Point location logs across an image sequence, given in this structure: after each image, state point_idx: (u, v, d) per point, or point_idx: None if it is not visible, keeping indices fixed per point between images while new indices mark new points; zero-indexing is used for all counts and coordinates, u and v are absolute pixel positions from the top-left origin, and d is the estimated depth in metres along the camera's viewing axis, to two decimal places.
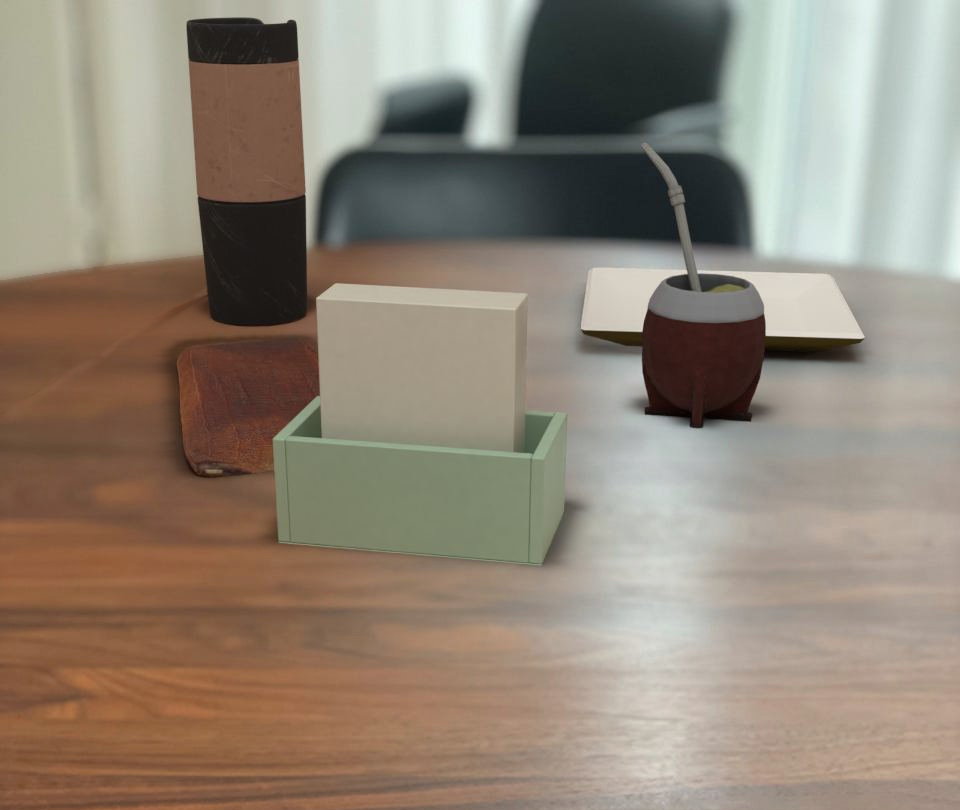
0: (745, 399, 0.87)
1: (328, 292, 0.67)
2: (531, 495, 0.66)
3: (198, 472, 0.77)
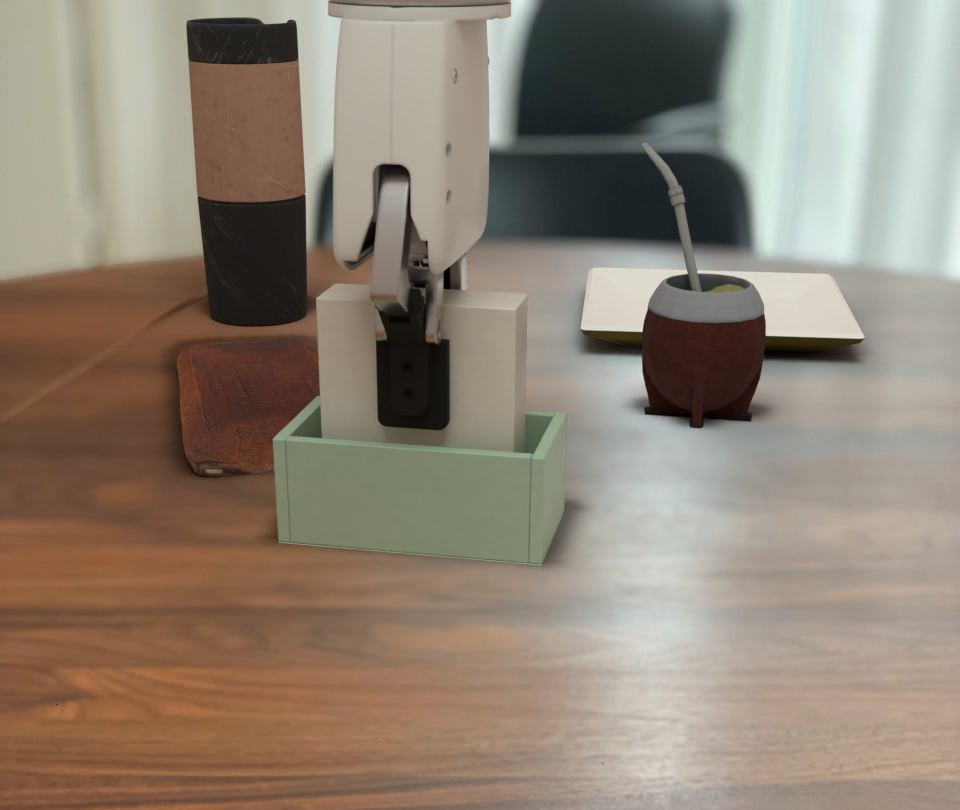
0: (745, 399, 0.87)
1: (328, 292, 0.67)
2: (531, 495, 0.66)
3: (198, 472, 0.77)
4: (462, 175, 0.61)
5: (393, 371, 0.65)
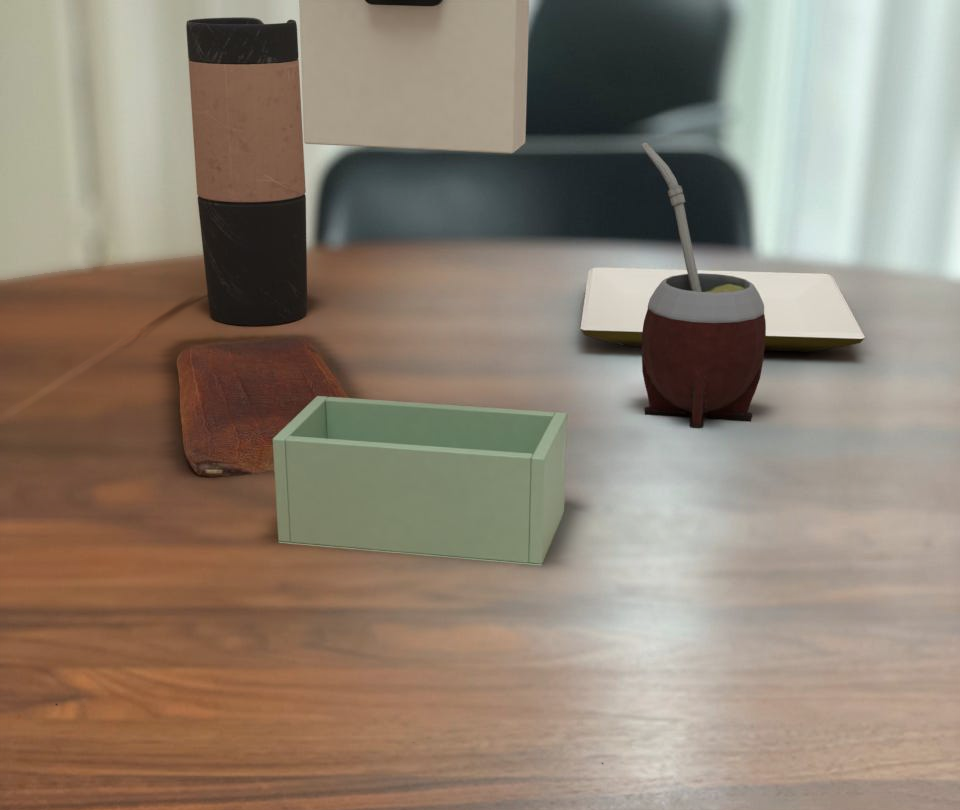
0: (745, 399, 0.87)
1: None
2: (531, 495, 0.66)
3: (198, 472, 0.77)
4: None
5: None
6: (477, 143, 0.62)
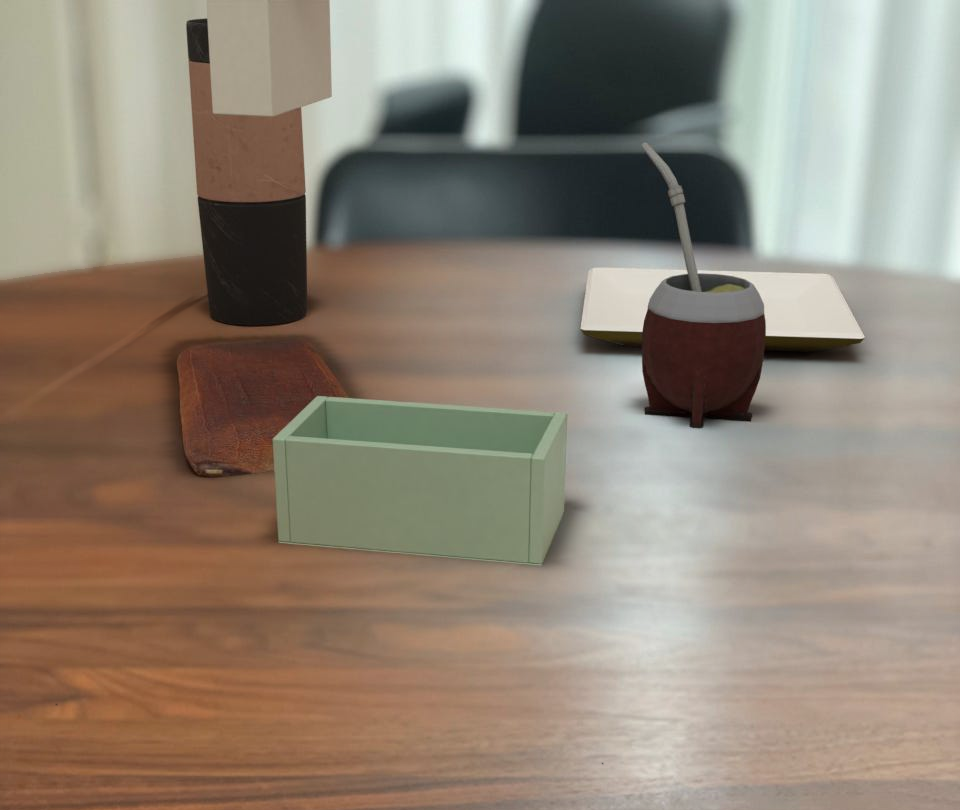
0: (745, 399, 0.87)
1: None
2: (531, 495, 0.66)
3: (198, 472, 0.77)
4: None
5: None
6: None
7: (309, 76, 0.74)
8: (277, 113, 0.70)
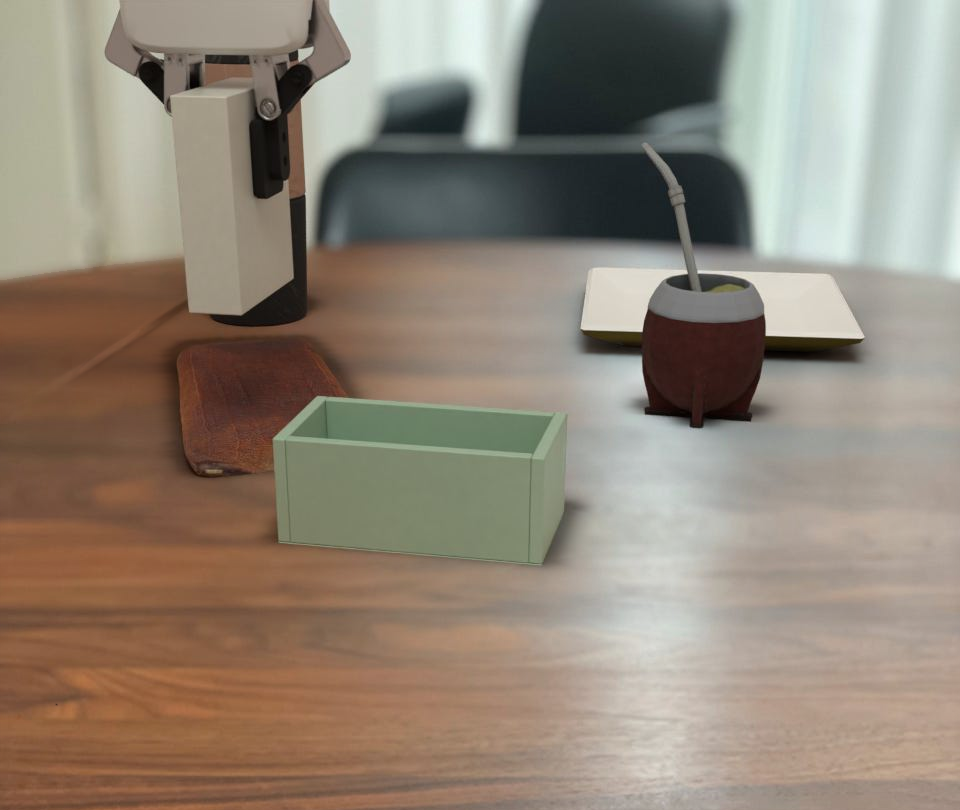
0: (745, 399, 0.87)
1: (248, 78, 0.83)
2: (531, 495, 0.66)
3: (198, 472, 0.77)
4: None
5: None
6: None
7: (273, 268, 0.84)
8: (245, 311, 0.80)
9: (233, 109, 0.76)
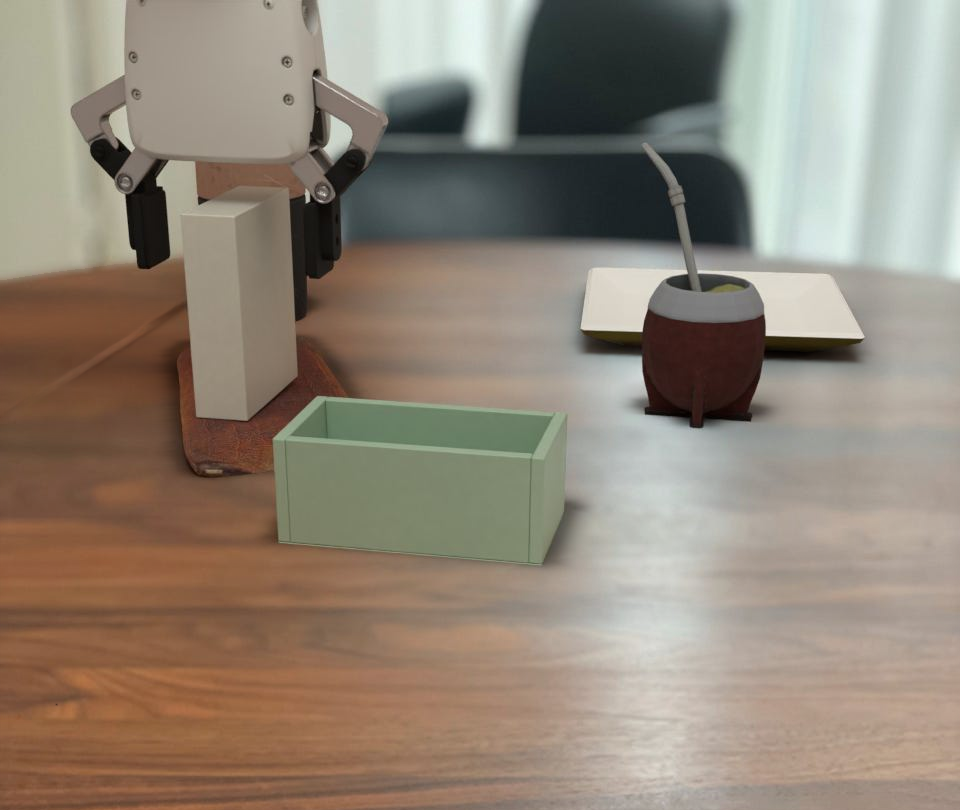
0: (745, 399, 0.87)
1: (255, 187, 0.85)
2: (531, 495, 0.66)
3: (198, 472, 0.77)
4: (163, 83, 0.77)
5: None
6: None
7: (278, 370, 0.86)
8: (251, 416, 0.82)
9: (241, 227, 0.78)
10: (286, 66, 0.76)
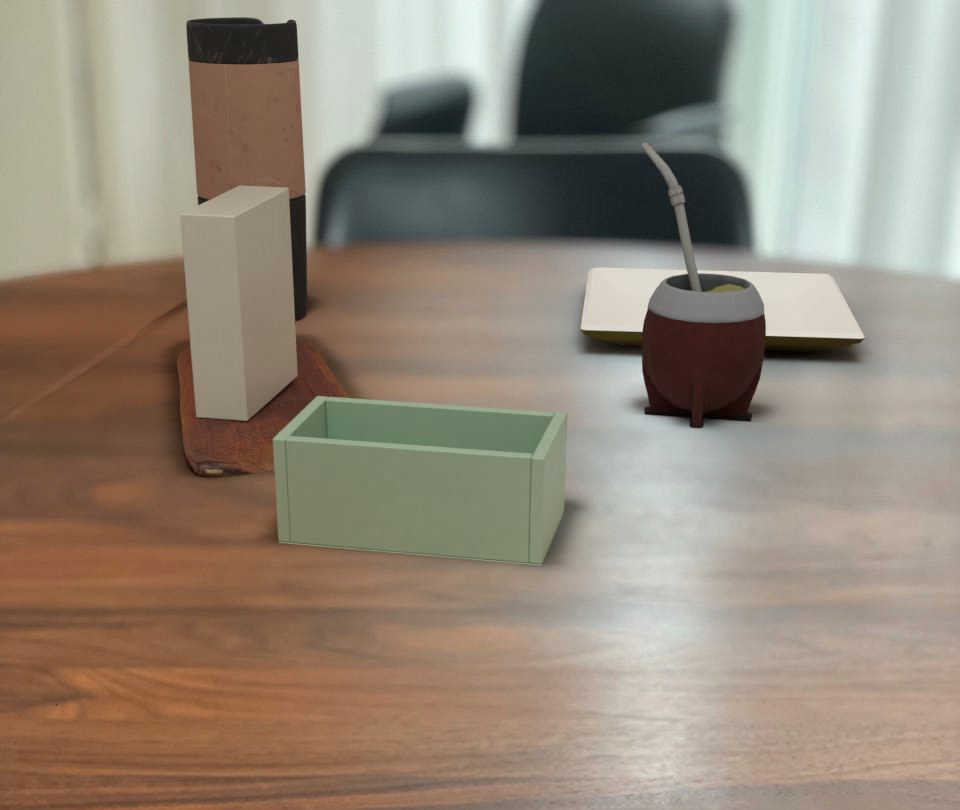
0: (745, 399, 0.87)
1: (255, 186, 0.85)
2: (531, 495, 0.66)
3: (198, 472, 0.77)
4: None
5: None
6: None
7: (278, 370, 0.86)
8: (251, 416, 0.82)
9: (241, 226, 0.78)
10: None
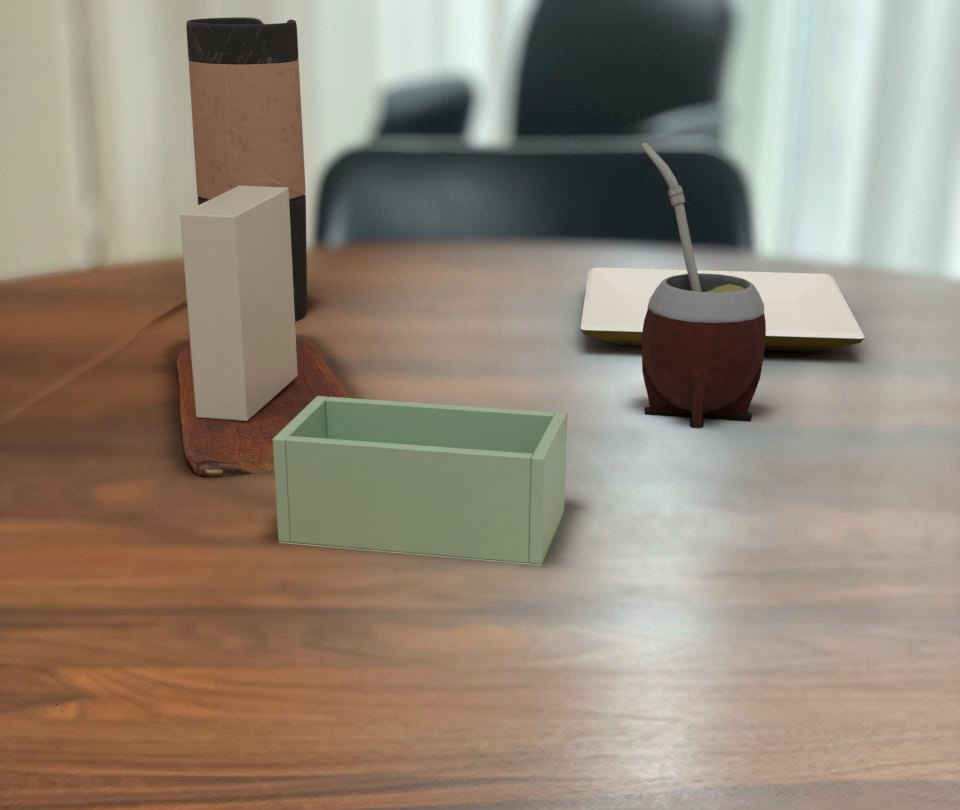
0: (745, 399, 0.87)
1: (255, 186, 0.85)
2: (531, 495, 0.66)
3: (198, 472, 0.77)
4: None
5: None
6: None
7: (278, 370, 0.86)
8: (251, 416, 0.82)
9: (240, 227, 0.78)
10: None
